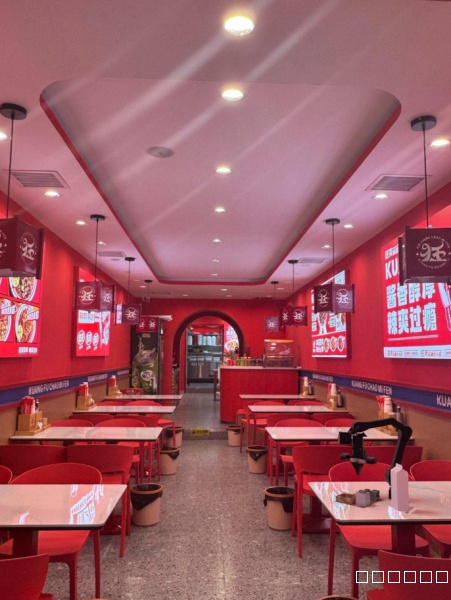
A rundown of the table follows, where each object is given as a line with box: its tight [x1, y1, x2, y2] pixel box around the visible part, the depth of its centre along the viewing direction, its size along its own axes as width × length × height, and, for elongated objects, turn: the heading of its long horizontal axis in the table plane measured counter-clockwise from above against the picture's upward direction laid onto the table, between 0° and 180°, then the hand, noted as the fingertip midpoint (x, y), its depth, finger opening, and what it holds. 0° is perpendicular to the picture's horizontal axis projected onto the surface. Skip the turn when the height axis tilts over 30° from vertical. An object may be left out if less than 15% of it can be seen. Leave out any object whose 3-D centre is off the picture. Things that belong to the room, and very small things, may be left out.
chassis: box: [334, 489, 384, 509], centre depth 243 cm, size 16×22×6 cm
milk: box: [390, 463, 410, 514], centre depth 231 cm, size 6×6×22 cm
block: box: [355, 489, 371, 508], centre depth 235 cm, size 5×5×7 cm
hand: (358, 475), depth 251 cm, fingers closed
